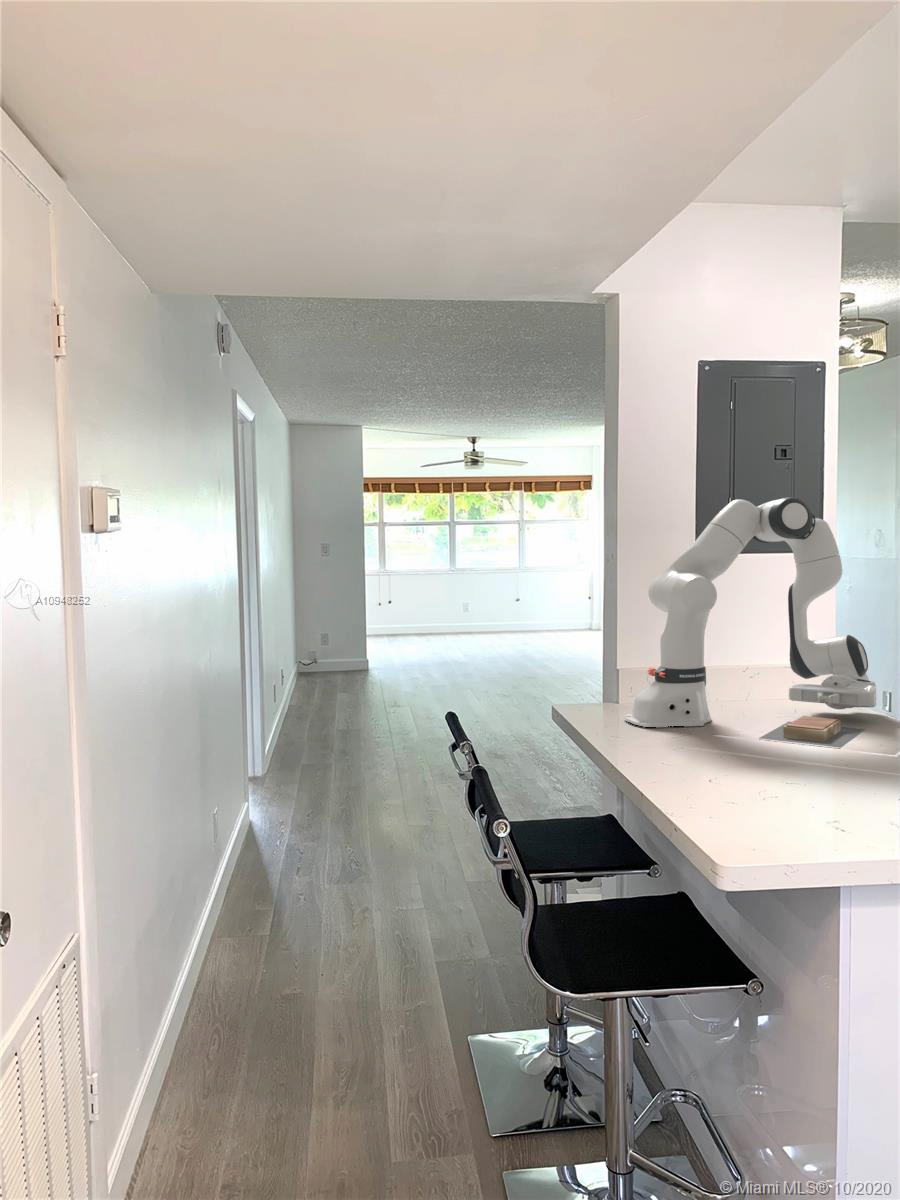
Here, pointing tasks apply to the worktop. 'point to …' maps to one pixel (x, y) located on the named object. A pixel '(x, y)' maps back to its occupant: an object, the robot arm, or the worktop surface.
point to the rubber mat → (834, 741)
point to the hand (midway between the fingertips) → (823, 700)
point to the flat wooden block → (812, 728)
